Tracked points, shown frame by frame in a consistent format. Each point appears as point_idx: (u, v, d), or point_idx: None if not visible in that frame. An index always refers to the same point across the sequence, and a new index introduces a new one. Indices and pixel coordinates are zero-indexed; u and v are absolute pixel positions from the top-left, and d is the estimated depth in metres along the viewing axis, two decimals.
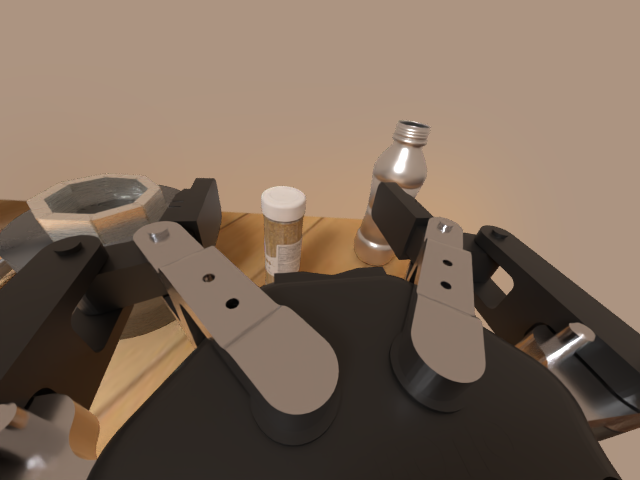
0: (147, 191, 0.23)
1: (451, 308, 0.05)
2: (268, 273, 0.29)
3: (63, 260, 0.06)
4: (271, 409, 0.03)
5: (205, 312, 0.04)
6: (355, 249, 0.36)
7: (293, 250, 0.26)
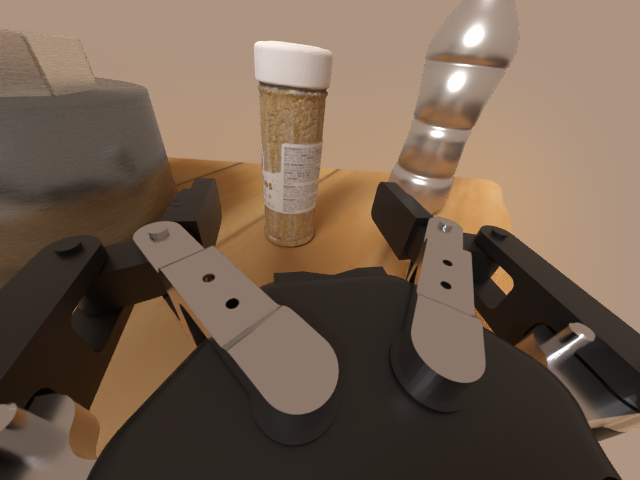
0: (50, 35, 0.13)
1: (451, 308, 0.05)
2: (268, 209, 0.18)
3: (63, 260, 0.06)
4: (271, 409, 0.03)
5: (205, 312, 0.04)
6: None
7: (309, 159, 0.16)
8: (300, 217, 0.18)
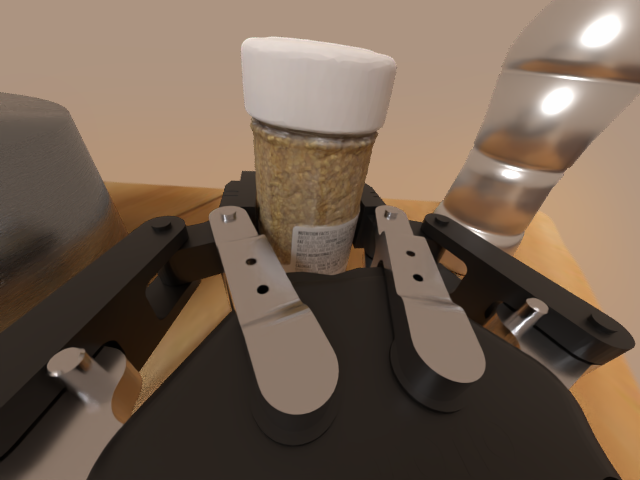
0: None
1: (451, 308, 0.05)
2: None
3: (154, 235, 0.07)
4: (262, 397, 0.03)
5: (238, 290, 0.05)
6: None
7: (340, 243, 0.09)
8: None
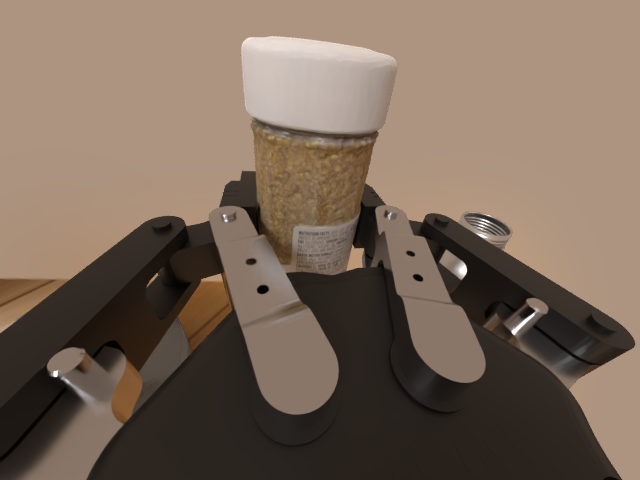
0: None
1: (451, 308, 0.05)
2: None
3: (154, 235, 0.07)
4: (262, 397, 0.03)
5: (238, 290, 0.05)
6: None
7: (340, 243, 0.09)
8: None
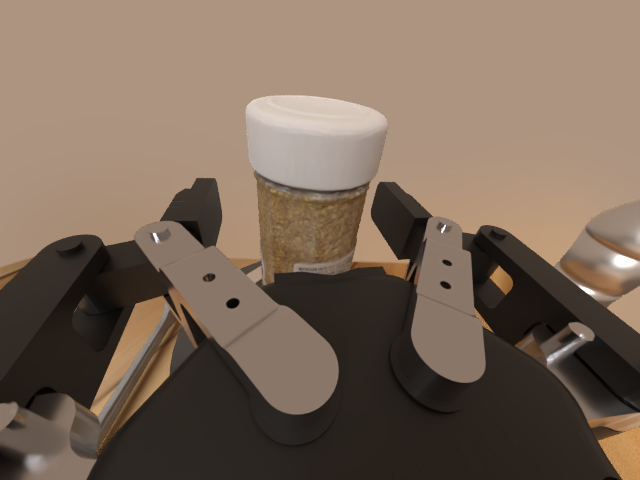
0: None
1: (451, 308, 0.05)
2: None
3: (64, 259, 0.06)
4: (271, 409, 0.03)
5: (205, 312, 0.04)
6: None
7: None
8: None
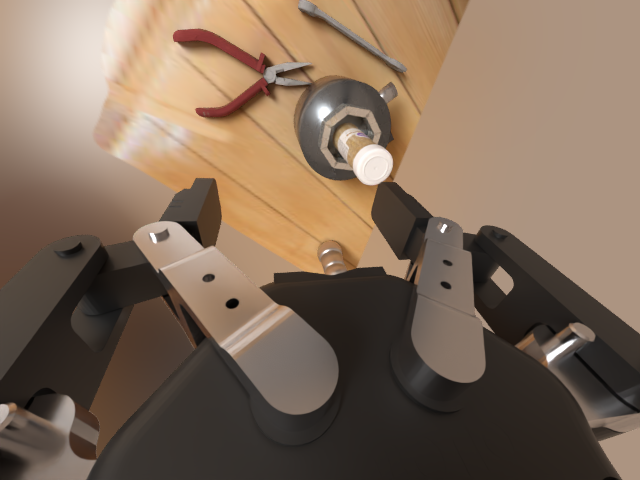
0: None
1: (451, 308, 0.05)
2: (346, 130, 0.34)
3: (63, 260, 0.06)
4: (271, 409, 0.03)
5: (205, 312, 0.04)
6: (329, 242, 0.62)
7: (345, 159, 0.32)
8: (337, 146, 0.36)
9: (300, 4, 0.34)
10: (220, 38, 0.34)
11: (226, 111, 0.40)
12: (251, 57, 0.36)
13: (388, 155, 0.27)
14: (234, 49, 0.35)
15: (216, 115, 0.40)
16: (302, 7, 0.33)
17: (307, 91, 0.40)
